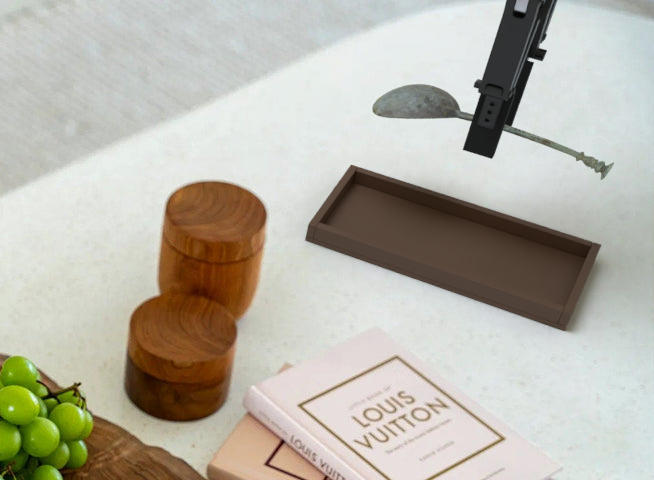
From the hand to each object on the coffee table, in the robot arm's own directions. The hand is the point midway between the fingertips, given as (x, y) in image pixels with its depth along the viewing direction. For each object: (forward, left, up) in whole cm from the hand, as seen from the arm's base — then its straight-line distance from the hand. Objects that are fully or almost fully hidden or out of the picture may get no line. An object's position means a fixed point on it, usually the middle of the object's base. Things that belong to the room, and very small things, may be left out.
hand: (487, 136), depth 106 cm
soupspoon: (0, 0, 0) cm, 0 cm away
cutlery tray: (0, +3, -11) cm, 11 cm away
